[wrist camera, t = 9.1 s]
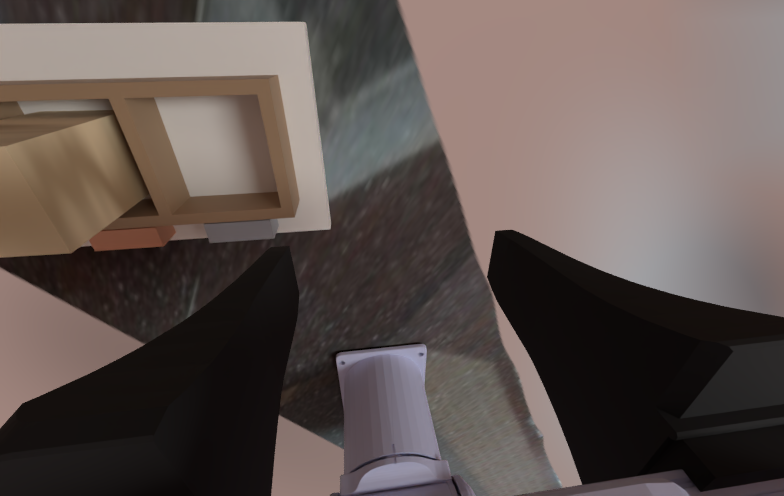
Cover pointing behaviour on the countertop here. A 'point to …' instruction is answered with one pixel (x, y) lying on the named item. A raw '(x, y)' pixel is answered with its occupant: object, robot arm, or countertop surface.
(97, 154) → the maple peg
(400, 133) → the countertop surface
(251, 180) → the socket board
